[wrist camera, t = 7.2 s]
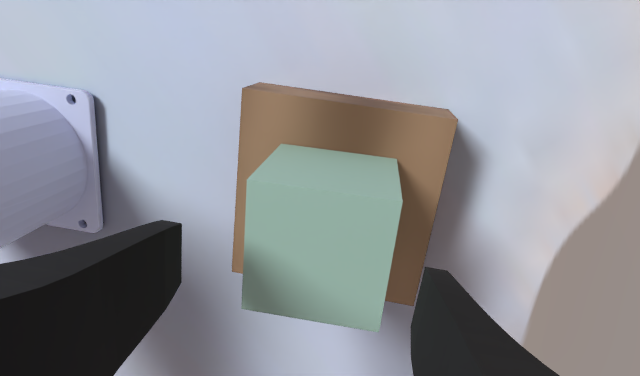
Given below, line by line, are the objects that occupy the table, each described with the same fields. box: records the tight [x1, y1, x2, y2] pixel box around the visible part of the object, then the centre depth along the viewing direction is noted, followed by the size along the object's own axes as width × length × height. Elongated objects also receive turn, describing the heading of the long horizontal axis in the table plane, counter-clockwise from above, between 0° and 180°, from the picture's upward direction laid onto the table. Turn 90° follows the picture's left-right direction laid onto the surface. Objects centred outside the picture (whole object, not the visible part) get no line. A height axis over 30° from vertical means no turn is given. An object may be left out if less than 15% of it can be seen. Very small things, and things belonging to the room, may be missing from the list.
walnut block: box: [232, 82, 458, 306], centre depth 20 cm, size 9×9×3 cm
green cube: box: [242, 144, 403, 332], centre depth 16 cm, size 5×5×5 cm
